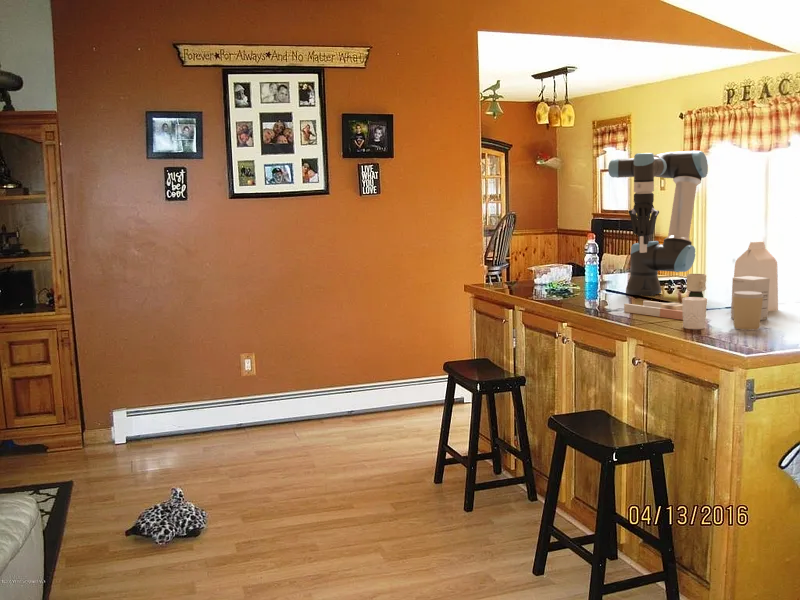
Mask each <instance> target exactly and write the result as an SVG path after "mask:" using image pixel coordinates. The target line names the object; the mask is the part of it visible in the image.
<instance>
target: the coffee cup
mask: <svg viewBox="0 0 800 600" xmlns="http://www.w3.org/2000/svg"><path fill="white" fill-rule="evenodd" d="M762 301H763V293H761V292H755V291H736V292H734V294H733V309H734V319H733V328H735V329H737V330H740V331H741V330H742V331H758V330H759V329H760V326H761V325H760V324H761V320H760V318H761V310H762Z"/></svg>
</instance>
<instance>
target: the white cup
mask: <svg viewBox="0 0 800 600" xmlns="http://www.w3.org/2000/svg"><path fill="white" fill-rule="evenodd" d="M707 303H708V298H706V297H703V298H701V297H689V296H687V297H682V298H681V304H682V313H683V320H682V325H683V328H684V329H688V330H703V329H705V325H706V323H705V322H706V318H707V317H706V316H707V306H708V305H707Z"/></svg>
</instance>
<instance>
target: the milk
mask: <svg viewBox="0 0 800 600" xmlns="http://www.w3.org/2000/svg"><path fill="white" fill-rule="evenodd" d="M733 272H734V274H733V278H734V277H743V276H754V277H763V278H770V281H769V298H768V312H773V311H774V312H775V311H778V310H779V295H778V294H779V292H778V291H779V287H778V286H779V283H778V281H779V280H778V262H777V259H776V258H775V257H774V256H773V255H772V254H771V253H770V252H769V251H768V250H767V249H766V245H765V241H762V240H761V241H750V243H749V245H748V248H747V250H745V251H744V252H743V253H742V254H741V255H740V256H739V257H737V259H736V260H735V263H734V271H733ZM731 305H732V302H731Z"/></svg>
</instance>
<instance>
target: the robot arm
mask: <svg viewBox="0 0 800 600" xmlns="http://www.w3.org/2000/svg"><path fill="white" fill-rule="evenodd" d="M607 169H608V175H609V176H610V177H611V178H620V179H621V178H633V193H634V194H633V204H634V205H633V208H632V209H631V210H628V214H629V216H630V217H629V218H630V221H631V227H632V230H633V234H634V235H637V242H636V243H633V244H632V245H631V247H630V269H629V271H630V272H629V273H630V277H629V279H628V282H627V285H626V288H625V293H626V294H627V295H633V296H656V295H655V294H659V293H661V294H662V287H661V284H660V280H659V277H658V274H659V273H658V272H674V273H684V272H685V273H686V272H689V270H691V268H692V267H693V266H694V265H693V264H694V262H695V259H696V258H695V257H696V248H695V246H694V245H693V242H692V241H691V239H690V232H691V227H692V221H693V220H692V219H693V213H694V212H693V211H694V207H695V206H694V205H695V200H696V193H697V188H698V187H697V186H699V185H700V184H701V183H702V179H704V178H706V177H708V173H709V165H708V159H707V156H706V153H704V152H703V151H702V150H686V151H685V150H684V151H683V150H681V151H680V150H679V151H667V152H661V153H657V154H654V153H653V152H643V153H641V152H638V153H636V154H634V156H633V157H632V158H617V159H616V158H615V159H611V160H610V161H609V164H608V168H607ZM654 178H662V179H672V181H673V182H674V184H675V189H674V195H673V203H672V206H671V207H672V208H671V209H672V210H671V216H670V221H669V222H670V223H669V228H668V235H667V236H666V237H665V238H664V239H663V242H662V243H663V244H662V243H661V244H660V242H659V241H658V240H651V241H649V240H650V238H649V236H652V235H653V234H654V231H655V227H656V224H657V223H656V221H657V218H658V215H659V214H660V211H659V210H656V209H655V207H654V200H655V199H654V197H655V194H654V191H655V183H654V182H655V181H654V180H655V179H654ZM659 295H660V294H659Z"/></svg>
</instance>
